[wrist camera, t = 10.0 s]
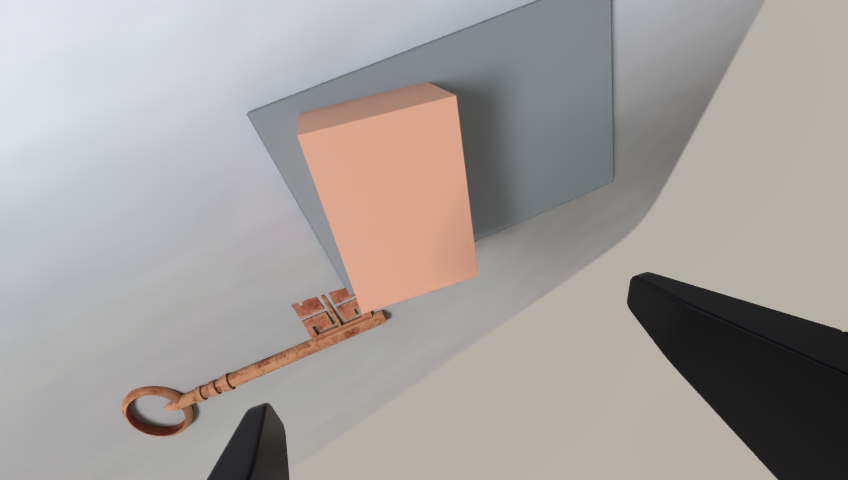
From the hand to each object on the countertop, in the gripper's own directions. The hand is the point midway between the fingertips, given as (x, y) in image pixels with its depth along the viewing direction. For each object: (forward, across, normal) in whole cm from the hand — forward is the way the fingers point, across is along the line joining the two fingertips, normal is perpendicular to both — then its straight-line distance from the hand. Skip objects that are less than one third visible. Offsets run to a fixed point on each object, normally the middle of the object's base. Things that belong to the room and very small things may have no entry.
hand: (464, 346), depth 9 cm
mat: (+11, -4, 0) cm, 12 cm away
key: (+12, +9, +8) cm, 17 cm away
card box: (+10, 0, 0) cm, 11 cm away
